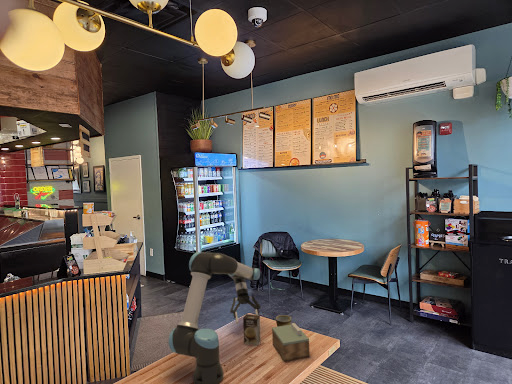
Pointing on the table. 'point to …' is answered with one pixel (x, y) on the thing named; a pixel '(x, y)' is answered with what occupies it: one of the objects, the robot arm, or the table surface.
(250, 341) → the coffee box
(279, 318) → the ceramic cup
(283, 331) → the lid
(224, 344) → the table surface
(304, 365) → the table surface
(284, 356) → the toolbox
